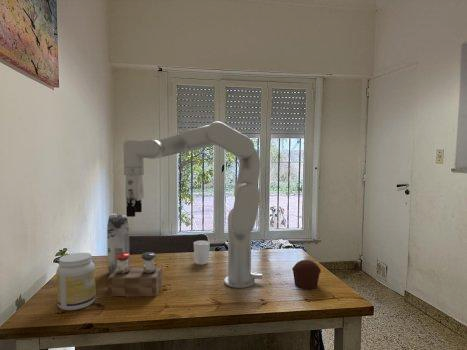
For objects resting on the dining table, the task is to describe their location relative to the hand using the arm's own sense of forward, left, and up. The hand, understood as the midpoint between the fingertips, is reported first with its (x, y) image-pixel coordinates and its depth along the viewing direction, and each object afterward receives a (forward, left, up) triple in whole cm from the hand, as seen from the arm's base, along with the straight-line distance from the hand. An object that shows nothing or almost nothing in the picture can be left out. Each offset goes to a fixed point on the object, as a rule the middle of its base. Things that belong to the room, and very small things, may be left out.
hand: (134, 214), depth 129 cm
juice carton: (+11, -14, -29) cm, 34 cm away
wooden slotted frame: (-1, +4, -29) cm, 30 cm away
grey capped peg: (-6, +4, -25) cm, 26 cm away
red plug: (+4, +4, -25) cm, 26 cm away
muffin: (-69, +2, -29) cm, 75 cm away
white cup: (-25, -28, -29) cm, 48 cm away
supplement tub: (+17, +15, -29) cm, 37 cm away
